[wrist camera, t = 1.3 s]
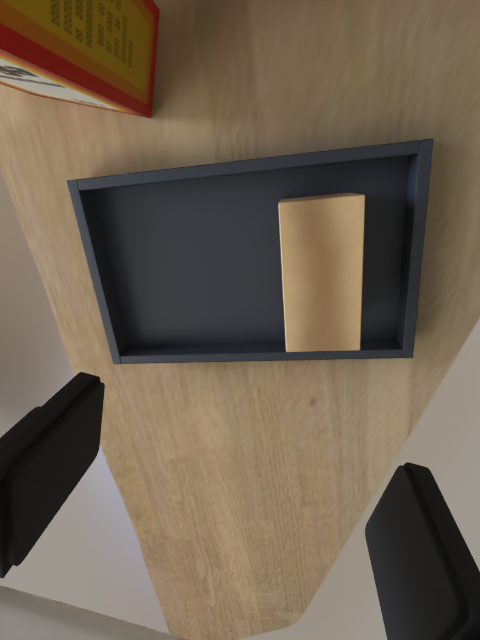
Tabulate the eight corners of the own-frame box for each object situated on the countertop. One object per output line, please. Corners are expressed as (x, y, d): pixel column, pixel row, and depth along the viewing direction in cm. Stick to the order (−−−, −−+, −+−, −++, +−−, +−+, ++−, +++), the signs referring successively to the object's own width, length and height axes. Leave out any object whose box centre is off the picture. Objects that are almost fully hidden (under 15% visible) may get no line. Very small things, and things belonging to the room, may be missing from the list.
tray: (419, 142, 24) (433, 138, 22) (403, 344, 30) (413, 358, 27) (85, 180, 28) (66, 180, 26) (125, 351, 34) (113, 364, 31)
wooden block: (349, 192, 25) (365, 194, 20) (347, 318, 29) (360, 350, 23) (280, 198, 26) (278, 202, 21) (286, 320, 30) (286, 352, 24)
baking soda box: (159, 9, 23) (-65, -285, 9) (151, 118, 26) (-33, 33, 11) (27, -15, 24) (-395, -332, 9) (32, 94, 26) (-294, -17, 12)
